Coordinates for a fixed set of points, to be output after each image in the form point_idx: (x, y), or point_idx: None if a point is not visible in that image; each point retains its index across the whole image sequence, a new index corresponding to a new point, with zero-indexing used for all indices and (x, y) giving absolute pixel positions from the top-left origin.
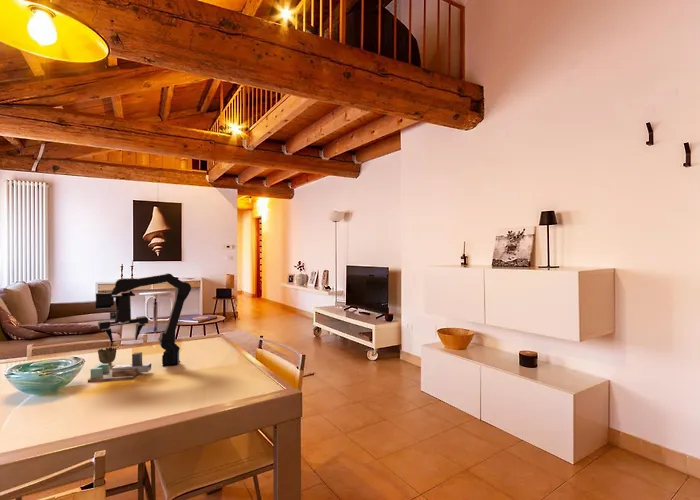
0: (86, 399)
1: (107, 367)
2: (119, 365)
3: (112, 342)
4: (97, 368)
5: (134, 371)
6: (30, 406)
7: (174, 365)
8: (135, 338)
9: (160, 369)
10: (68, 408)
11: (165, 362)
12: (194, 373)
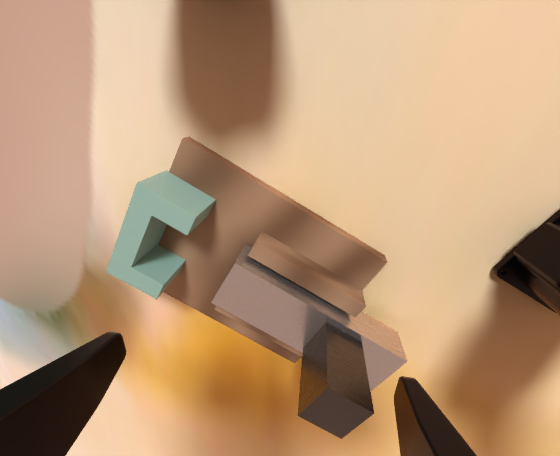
0: (152, 418)
1: (194, 227)
2: (249, 285)
3: (113, 376)
4: (138, 281)
5: None
6: (26, 370)
7: (546, 306)
8: (400, 418)
9: (451, 308)
10: (120, 439)
11: (530, 275)
12: (510, 450)
